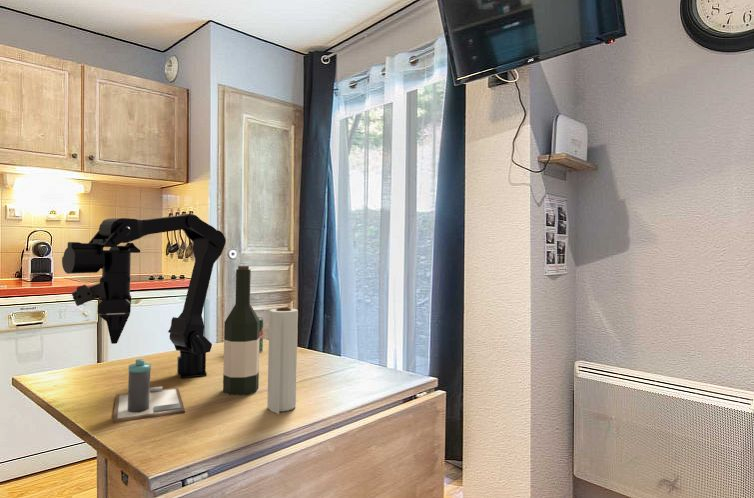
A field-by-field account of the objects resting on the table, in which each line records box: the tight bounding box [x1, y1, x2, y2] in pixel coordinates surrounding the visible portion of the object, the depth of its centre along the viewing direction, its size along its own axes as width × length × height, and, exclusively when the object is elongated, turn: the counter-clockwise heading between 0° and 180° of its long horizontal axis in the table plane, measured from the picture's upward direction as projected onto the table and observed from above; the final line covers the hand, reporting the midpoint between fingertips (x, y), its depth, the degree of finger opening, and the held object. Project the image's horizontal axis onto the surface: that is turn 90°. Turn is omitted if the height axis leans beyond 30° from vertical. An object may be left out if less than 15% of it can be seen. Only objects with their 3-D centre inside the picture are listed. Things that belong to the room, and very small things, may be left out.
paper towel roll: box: [266, 307, 299, 416], centre depth 100 cm, size 7×6×21 cm
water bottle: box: [127, 358, 152, 412], centre depth 96 cm, size 4×4×10 cm
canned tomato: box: [258, 316, 264, 354], centre depth 152 cm, size 8×8×11 cm
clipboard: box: [112, 385, 186, 423], centre depth 100 cm, size 13×17×1 cm
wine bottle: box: [222, 265, 260, 396], centre depth 111 cm, size 8×8×30 cm
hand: (115, 339), depth 107 cm, fingers open, 9 cm apart
